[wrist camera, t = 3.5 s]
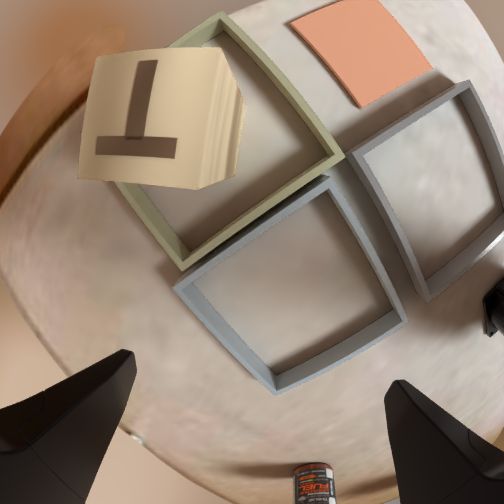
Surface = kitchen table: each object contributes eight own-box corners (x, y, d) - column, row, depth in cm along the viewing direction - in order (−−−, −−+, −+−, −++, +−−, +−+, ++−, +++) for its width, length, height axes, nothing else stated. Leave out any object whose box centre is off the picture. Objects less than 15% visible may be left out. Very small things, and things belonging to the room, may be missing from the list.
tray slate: (400, 309, 21) (409, 321, 19) (274, 380, 24) (275, 396, 22) (324, 175, 18) (331, 176, 16) (179, 276, 21) (171, 287, 19)
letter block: (246, 105, 17) (220, 46, 7) (234, 175, 18) (196, 190, 9) (175, 100, 17) (95, 56, 7) (165, 167, 18) (76, 179, 9)
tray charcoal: (507, 213, 17) (520, 218, 15) (416, 292, 20) (427, 303, 18) (455, 83, 14) (469, 79, 12) (343, 153, 17) (352, 153, 15)
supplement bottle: (329, 458, 29) (336, 524, 18) (334, 471, 30) (341, 530, 20) (287, 466, 30) (288, 531, 19) (297, 479, 31) (298, 536, 21)
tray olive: (338, 157, 17) (345, 157, 15) (189, 261, 20) (182, 271, 18) (226, 22, 14) (221, 10, 12) (95, 132, 17) (80, 131, 16)
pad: (429, 69, 14) (432, 68, 14) (360, 109, 16) (362, 107, 15) (367, -6, 12) (369, -9, 12) (290, 25, 14) (290, 22, 14)
